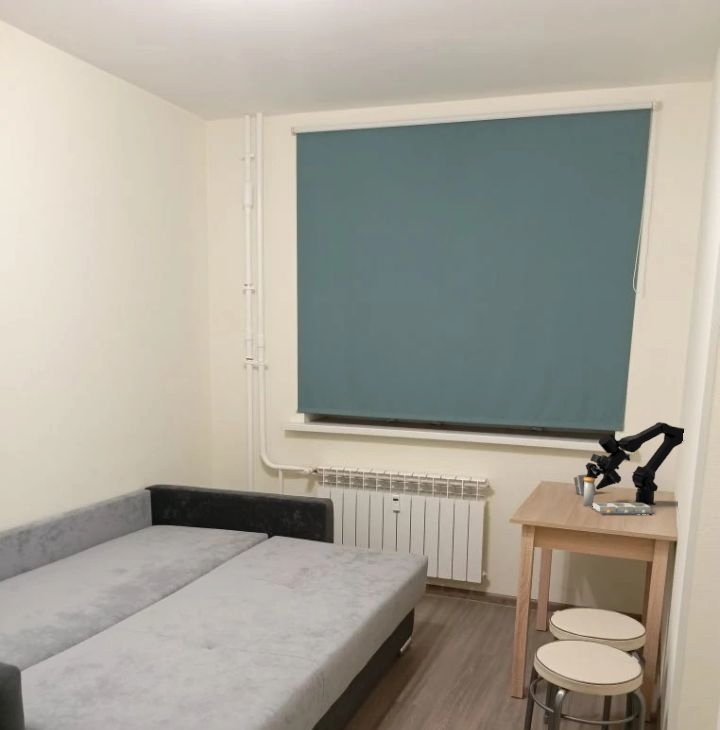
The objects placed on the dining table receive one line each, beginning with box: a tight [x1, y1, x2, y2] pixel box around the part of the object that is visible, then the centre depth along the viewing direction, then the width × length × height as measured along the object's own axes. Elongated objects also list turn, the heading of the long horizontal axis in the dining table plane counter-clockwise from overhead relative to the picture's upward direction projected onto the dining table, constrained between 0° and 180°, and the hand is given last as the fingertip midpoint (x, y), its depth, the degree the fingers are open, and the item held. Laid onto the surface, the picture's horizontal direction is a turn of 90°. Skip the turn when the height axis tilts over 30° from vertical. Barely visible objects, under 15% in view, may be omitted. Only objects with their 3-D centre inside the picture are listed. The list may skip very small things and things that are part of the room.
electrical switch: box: [573, 473, 597, 496], centre depth 309 cm, size 9×5×9 cm, turn 116°
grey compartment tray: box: [591, 502, 655, 516], centre depth 276 cm, size 22×10×3 cm, turn 95°
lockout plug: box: [583, 477, 596, 508], centre depth 285 cm, size 5×5×12 cm
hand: (590, 486), depth 285 cm, fingers open, 9 cm apart
